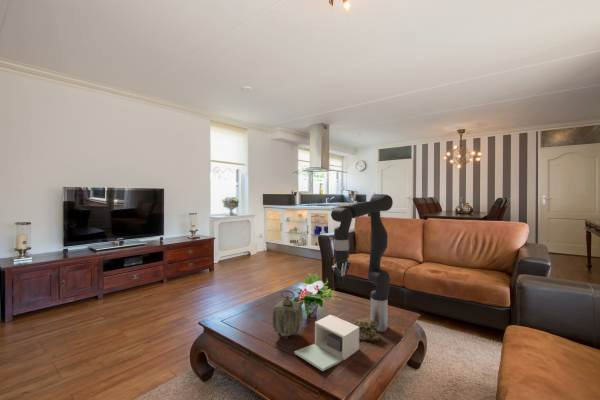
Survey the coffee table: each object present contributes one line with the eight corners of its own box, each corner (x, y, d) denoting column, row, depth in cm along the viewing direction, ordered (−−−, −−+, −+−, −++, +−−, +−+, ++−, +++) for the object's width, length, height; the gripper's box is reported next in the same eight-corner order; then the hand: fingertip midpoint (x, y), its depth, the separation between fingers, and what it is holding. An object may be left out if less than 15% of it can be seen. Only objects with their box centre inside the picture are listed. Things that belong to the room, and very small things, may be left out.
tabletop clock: (302, 335, 147) (302, 289, 146) (298, 344, 138) (298, 295, 137) (276, 331, 151) (276, 286, 149) (271, 340, 142) (271, 292, 141)
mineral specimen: (350, 343, 139) (350, 324, 139) (349, 330, 152) (349, 313, 152) (380, 345, 138) (380, 326, 137) (375, 332, 150) (376, 314, 150)
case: (330, 336, 146) (330, 314, 145) (359, 351, 133) (359, 326, 132) (314, 345, 137) (314, 322, 137) (344, 362, 124) (344, 336, 124)
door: (314, 343, 136) (294, 351, 127) (342, 359, 124) (322, 368, 115) (313, 348, 136) (294, 356, 127) (341, 364, 124) (322, 374, 115)
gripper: (343, 245, 142) (342, 278, 143) (326, 249, 133) (326, 284, 134) (355, 247, 137) (355, 281, 138) (339, 251, 128) (338, 288, 128)
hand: (341, 282), depth 136 cm, fingers closed
